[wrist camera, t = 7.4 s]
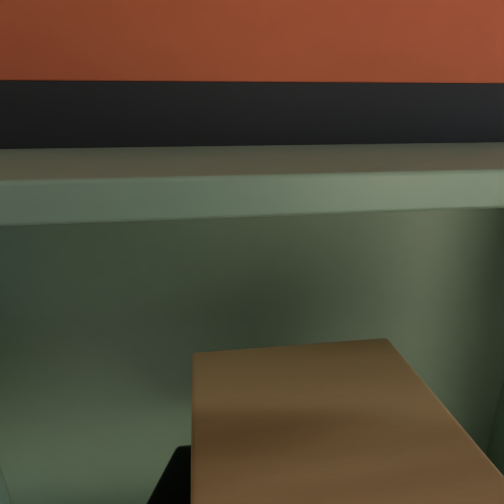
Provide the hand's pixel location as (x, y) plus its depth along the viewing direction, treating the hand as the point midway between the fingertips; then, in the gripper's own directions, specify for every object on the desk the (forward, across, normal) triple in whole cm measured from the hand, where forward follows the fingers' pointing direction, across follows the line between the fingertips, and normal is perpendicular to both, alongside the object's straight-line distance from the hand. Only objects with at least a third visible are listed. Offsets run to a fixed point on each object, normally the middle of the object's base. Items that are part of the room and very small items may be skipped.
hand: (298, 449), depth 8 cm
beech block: (+1, 0, 0) cm, 1 cm away
